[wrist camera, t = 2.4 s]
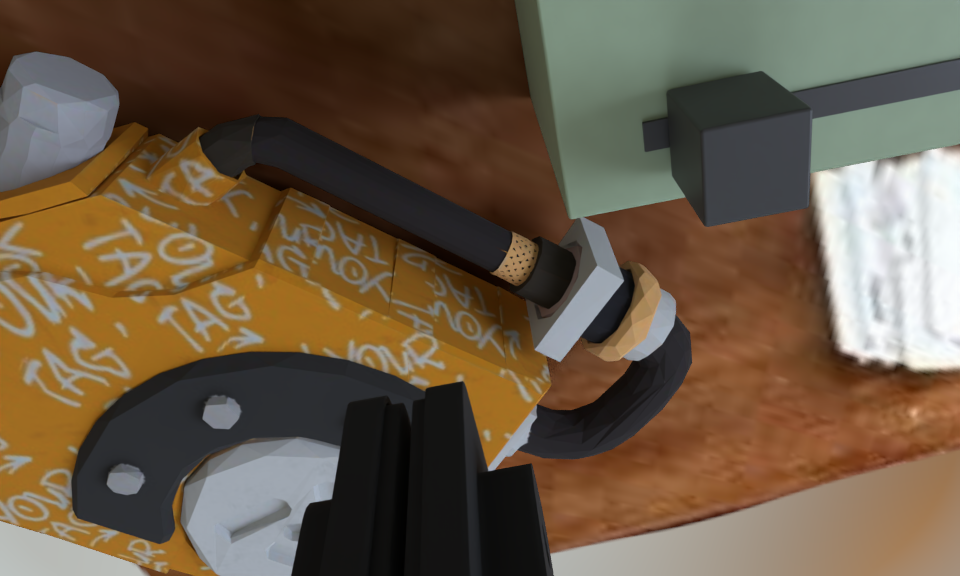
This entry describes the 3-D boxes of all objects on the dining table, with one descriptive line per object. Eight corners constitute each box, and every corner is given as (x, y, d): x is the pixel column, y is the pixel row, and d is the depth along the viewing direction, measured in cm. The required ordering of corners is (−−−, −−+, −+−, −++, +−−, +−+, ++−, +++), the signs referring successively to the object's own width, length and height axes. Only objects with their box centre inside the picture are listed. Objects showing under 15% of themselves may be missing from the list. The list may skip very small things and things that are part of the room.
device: (-130, -75, 18) (775, 379, 27) (30, -100, 25) (707, 267, 34) (-216, 496, 28) (467, 696, 37) (-84, 364, 35) (464, 557, 44)
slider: (665, 89, 18) (700, 130, 16) (762, 69, 18) (814, 107, 16) (670, 177, 20) (704, 229, 17) (762, 159, 19) (810, 209, 17)
